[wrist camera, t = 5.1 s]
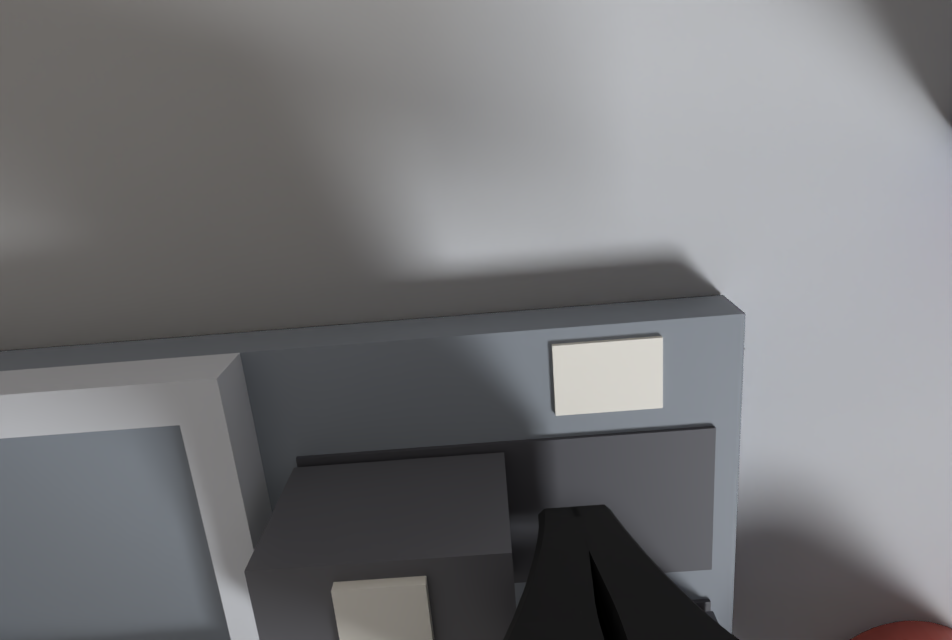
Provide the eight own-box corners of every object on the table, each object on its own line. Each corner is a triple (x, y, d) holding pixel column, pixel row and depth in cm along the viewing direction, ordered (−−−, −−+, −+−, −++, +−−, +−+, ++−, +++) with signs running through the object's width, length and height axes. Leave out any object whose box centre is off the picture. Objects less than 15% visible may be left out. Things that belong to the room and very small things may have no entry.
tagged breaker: (514, 583, 14) (525, 720, 11) (317, 597, 14) (274, 735, 11) (504, 452, 13) (512, 561, 10) (293, 467, 13) (239, 580, 10)
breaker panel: (707, 783, 18) (741, 886, 15) (52, 823, 18) (-9, 928, 16) (722, 295, 14) (771, 336, 11) (-123, 361, 14) (-238, 413, 12)
